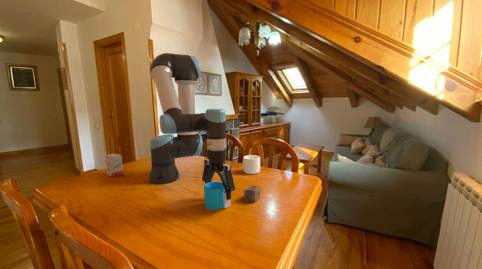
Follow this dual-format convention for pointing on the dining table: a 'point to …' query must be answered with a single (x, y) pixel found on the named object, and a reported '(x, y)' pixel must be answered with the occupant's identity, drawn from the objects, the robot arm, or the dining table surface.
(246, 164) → the mug
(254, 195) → the walnut cube
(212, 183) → the mug
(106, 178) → the dining table surface
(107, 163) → the ink box
